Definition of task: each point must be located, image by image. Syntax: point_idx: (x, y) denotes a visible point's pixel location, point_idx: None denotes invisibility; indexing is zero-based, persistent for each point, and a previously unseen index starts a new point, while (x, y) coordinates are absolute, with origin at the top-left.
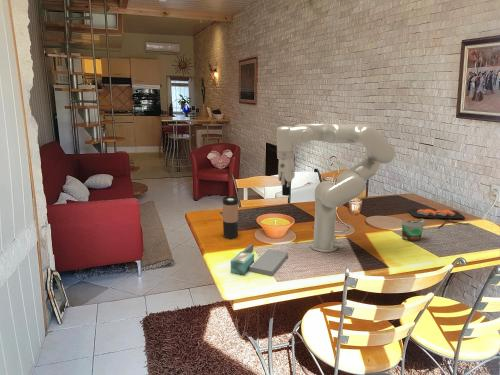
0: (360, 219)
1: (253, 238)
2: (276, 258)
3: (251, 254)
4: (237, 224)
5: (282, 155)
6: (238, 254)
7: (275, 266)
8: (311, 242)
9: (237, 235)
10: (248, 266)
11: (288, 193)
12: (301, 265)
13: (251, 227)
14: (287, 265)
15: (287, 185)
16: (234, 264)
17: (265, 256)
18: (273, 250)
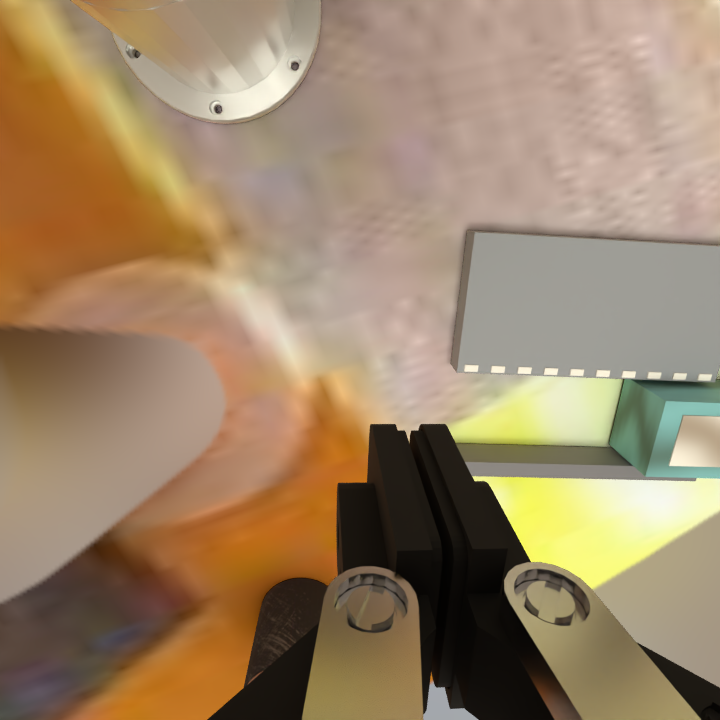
0: None
1: (275, 498)
2: (582, 276)
3: (678, 411)
4: (294, 642)
5: None
6: (688, 474)
7: (691, 249)
8: (211, 115)
9: (294, 584)
10: (712, 387)
11: (453, 453)
12: (569, 112)
13: (111, 567)
14: (588, 199)
15: (614, 626)
16: None
17: (569, 345)
18: (471, 328)
